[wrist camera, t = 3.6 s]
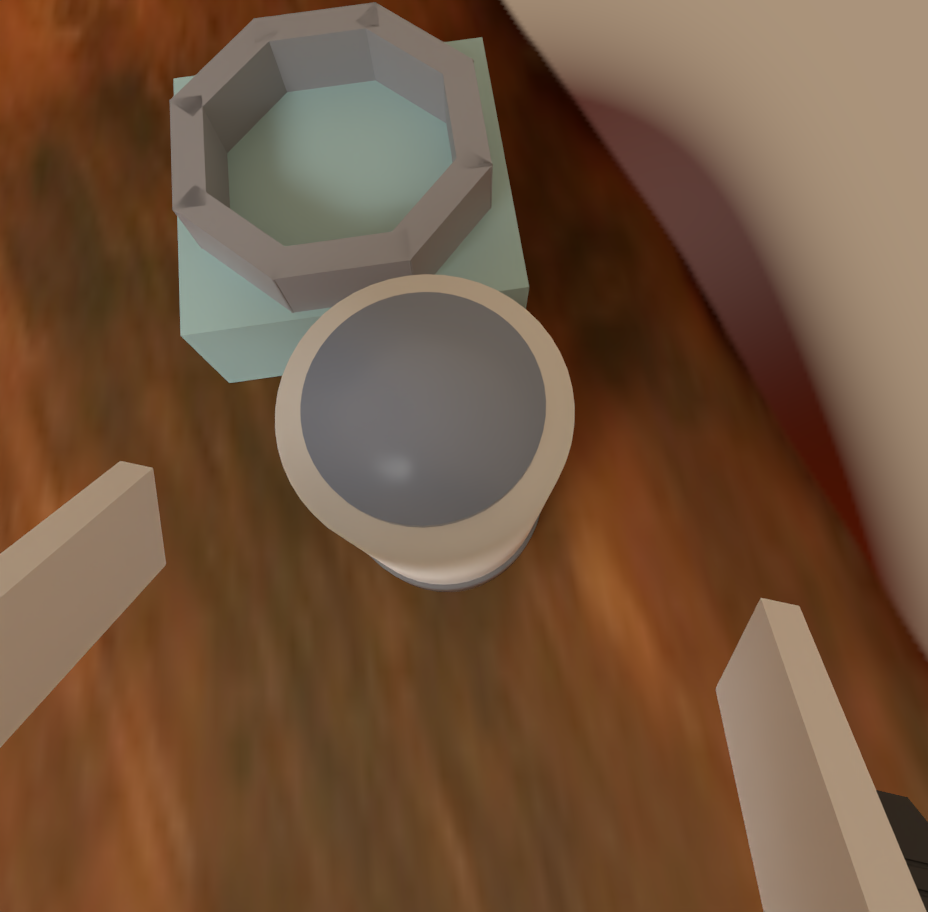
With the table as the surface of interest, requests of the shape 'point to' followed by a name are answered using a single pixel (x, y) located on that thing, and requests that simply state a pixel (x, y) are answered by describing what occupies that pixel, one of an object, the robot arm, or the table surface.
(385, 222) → the body block
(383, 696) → the table surface
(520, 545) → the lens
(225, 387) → the table surface
